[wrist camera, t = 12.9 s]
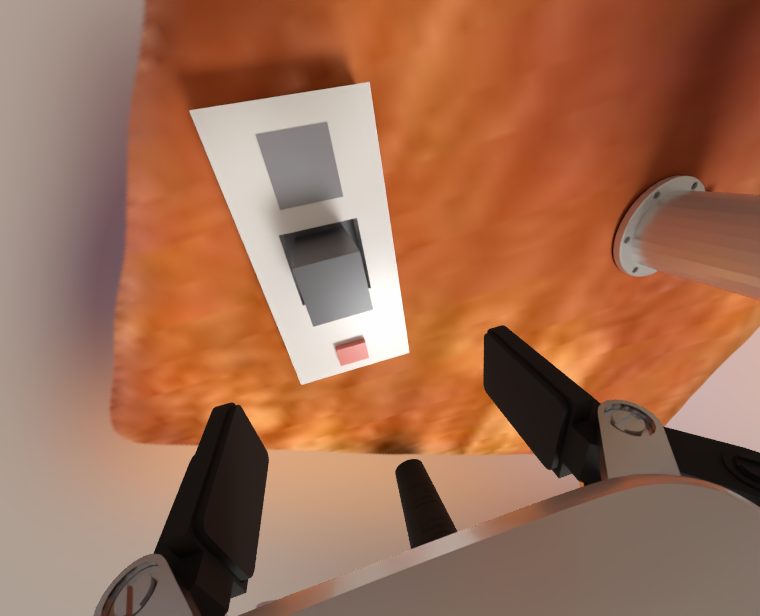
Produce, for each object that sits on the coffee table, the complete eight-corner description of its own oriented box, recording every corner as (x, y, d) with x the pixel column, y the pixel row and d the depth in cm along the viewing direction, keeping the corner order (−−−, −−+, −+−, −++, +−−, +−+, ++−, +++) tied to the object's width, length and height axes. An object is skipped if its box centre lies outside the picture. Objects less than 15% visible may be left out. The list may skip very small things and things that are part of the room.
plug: (342, 225, 26) (359, 251, 19) (353, 270, 29) (373, 309, 21) (295, 237, 26) (292, 268, 18) (309, 282, 28) (313, 326, 20)
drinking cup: (415, 446, 45) (486, 620, 28) (437, 464, 49) (513, 628, 32) (377, 473, 46) (424, 659, 29) (403, 489, 50) (457, 662, 32)
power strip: (359, 94, 23) (371, 78, 19) (398, 333, 35) (411, 356, 31) (207, 119, 22) (184, 108, 17) (301, 361, 33) (301, 390, 29)
